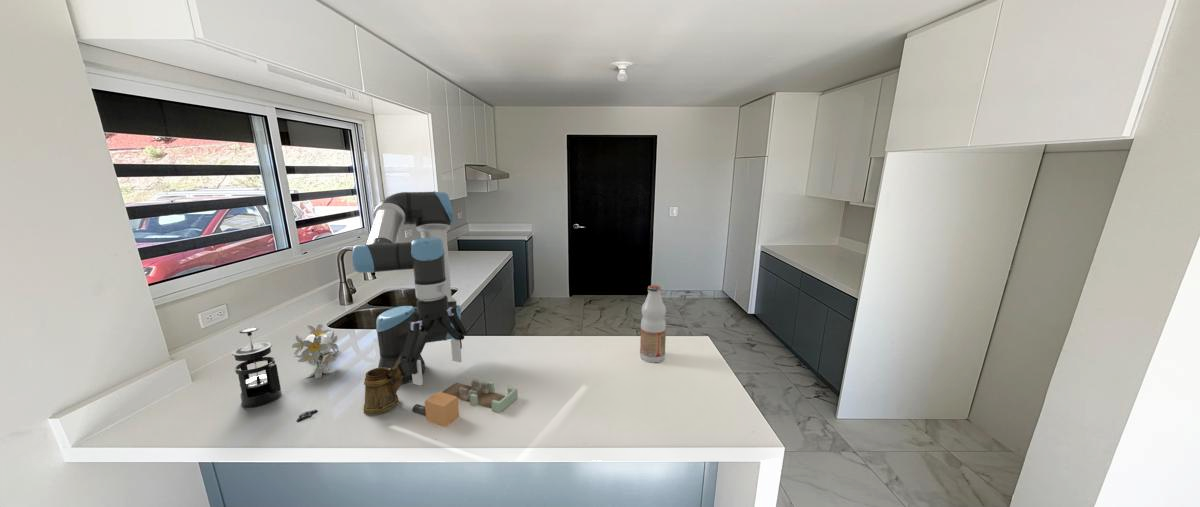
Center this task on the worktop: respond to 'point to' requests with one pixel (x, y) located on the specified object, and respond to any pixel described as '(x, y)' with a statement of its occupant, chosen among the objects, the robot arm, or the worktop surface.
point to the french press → (258, 382)
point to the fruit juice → (653, 326)
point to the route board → (478, 389)
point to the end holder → (496, 405)
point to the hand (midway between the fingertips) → (438, 371)
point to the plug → (439, 408)
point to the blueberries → (306, 415)
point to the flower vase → (317, 349)
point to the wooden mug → (382, 389)
